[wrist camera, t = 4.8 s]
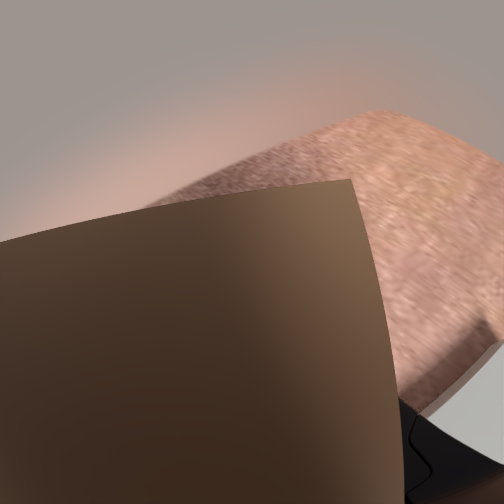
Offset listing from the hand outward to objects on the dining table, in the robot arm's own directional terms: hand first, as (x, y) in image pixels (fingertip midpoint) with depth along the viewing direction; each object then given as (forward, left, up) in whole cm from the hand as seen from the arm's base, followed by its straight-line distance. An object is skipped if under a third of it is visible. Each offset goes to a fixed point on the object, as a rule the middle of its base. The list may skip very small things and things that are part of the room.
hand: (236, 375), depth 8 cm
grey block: (+10, -11, -13) cm, 20 cm away
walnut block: (-1, -1, -7) cm, 7 cm away
